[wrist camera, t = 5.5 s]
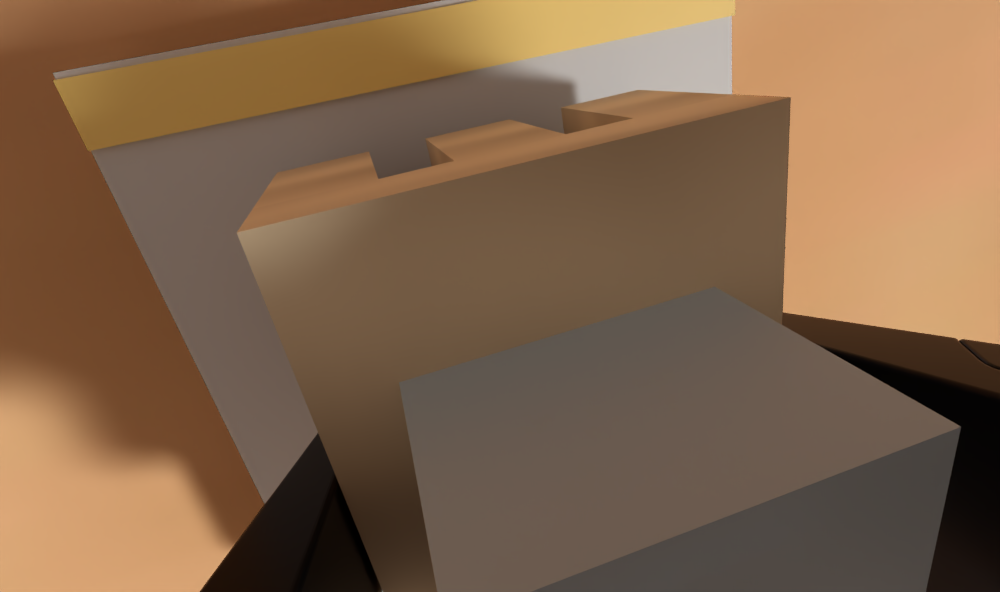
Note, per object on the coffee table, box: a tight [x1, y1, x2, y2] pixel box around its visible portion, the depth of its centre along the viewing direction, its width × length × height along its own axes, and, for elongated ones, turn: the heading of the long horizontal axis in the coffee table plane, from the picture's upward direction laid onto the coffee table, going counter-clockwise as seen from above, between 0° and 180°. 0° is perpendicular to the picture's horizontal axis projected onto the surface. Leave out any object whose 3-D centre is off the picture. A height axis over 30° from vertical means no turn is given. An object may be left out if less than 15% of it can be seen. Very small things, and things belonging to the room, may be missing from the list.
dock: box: [53, 0, 735, 592], centre depth 12 cm, size 11×12×3 cm
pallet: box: [237, 90, 791, 592], centre depth 9 cm, size 8×6×4 cm
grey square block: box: [399, 287, 961, 592], centre depth 6 cm, size 4×4×3 cm
